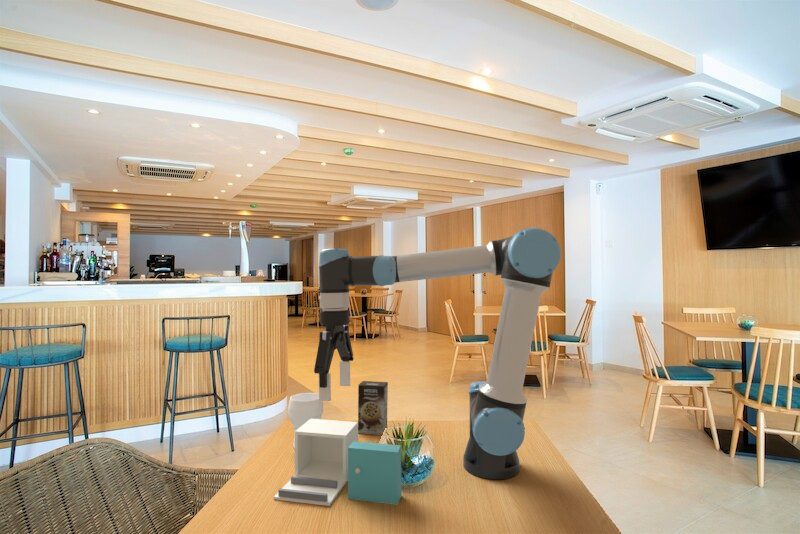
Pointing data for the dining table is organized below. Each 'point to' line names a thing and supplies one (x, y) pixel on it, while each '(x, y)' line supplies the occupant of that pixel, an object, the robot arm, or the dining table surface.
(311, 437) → the cabinet
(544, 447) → the dining table surface
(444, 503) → the dining table surface
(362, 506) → the dining table surface
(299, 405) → the cup
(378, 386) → the coffee box
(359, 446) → the door
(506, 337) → the robot arm
